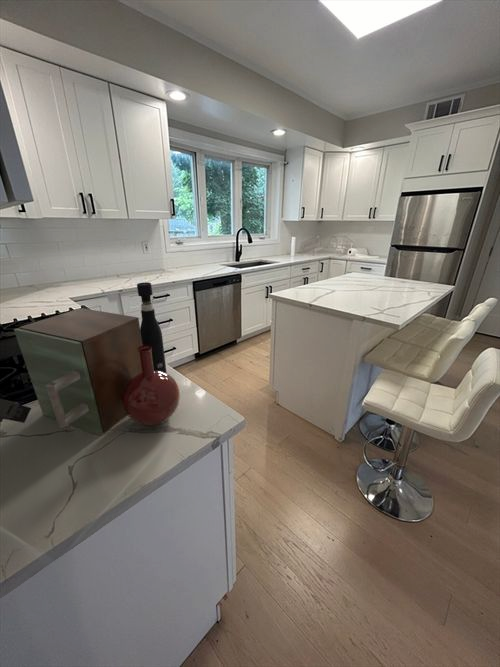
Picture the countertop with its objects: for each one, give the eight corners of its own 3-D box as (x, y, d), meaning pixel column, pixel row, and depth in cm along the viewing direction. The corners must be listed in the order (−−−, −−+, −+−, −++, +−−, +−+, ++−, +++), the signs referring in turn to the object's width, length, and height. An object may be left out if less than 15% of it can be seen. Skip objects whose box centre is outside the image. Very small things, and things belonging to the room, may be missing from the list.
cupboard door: (76, 456, 59) (45, 357, 50) (16, 430, 66) (-21, 339, 57) (103, 434, 65) (81, 342, 56) (46, 412, 72) (17, 328, 63)
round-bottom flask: (165, 442, 63) (154, 365, 55) (115, 432, 66) (98, 357, 58) (190, 407, 75) (184, 339, 67) (147, 399, 78) (137, 334, 70)
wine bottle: (151, 369, 93) (139, 280, 81) (170, 371, 92) (159, 281, 81) (142, 379, 87) (127, 285, 76) (161, 381, 86) (149, 286, 75)
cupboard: (104, 433, 65) (82, 341, 56) (47, 412, 72) (18, 327, 63) (150, 396, 79) (138, 317, 70) (98, 381, 86) (81, 307, 77)
